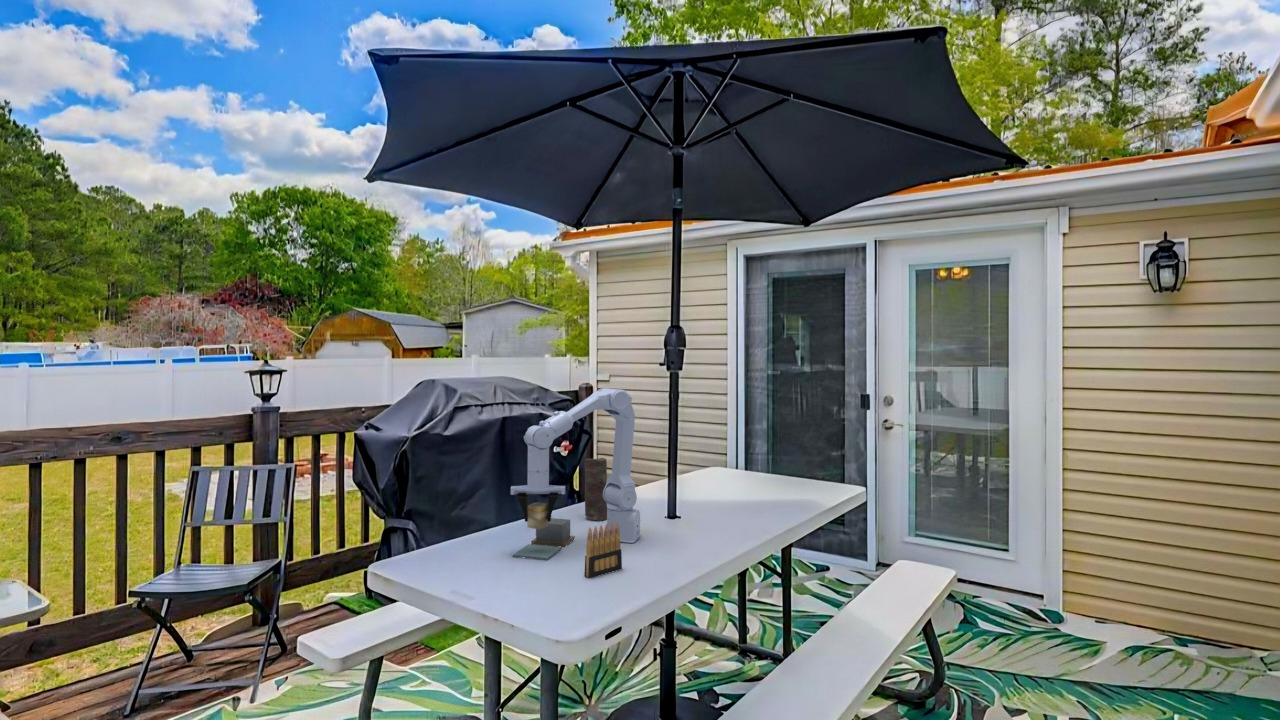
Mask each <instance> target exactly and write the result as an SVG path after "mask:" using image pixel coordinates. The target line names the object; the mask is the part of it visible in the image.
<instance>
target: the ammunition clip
mask: <svg viewBox="0 0 1280 720" xmlns="http://www.w3.org/2000/svg"><path fill="white" fill-rule="evenodd" d="M622 556H623V555H622V549H621V542H620V529H619V524H618V522H617V523H616V526H615V536H614V526H613V523H611V525H610V532H609V530H608V525H607V523H606V524H605V526H604V528H603V525H601V524H600V526H599V529H598V528H597V526H594V529H593V531H592V528H591V527H589V528H588V531H587V542H586V554H585V558H584V574H583V576H584V577H585V578H587V577H588V579H593V578H596V577H600V576H603V575H606V574H605V573H607V574H610V573H613V572H612V571H614V572H616V570H617V571H621V570H622V569H623V562H622V561H623V560H622V559H623V557H622ZM620 569H621V570H620ZM609 572H610V573H609ZM602 574H603V575H602ZM599 575H600V576H599Z"/></svg>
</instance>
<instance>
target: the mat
mask: <svg viewBox="0 0 1280 720" xmlns="http://www.w3.org/2000/svg"><path fill="white" fill-rule="evenodd" d="M561 549H562V550H563V547H554V546H543V545H532V544H530V543H529V544H527V545H525V546H523V547H522V548H521V549H519V550H518V551H516V552H515V553H513V554H512V558H518V557H525V558H524V559H529V558H533V559H532V560H539V559H544V560H543V561H549V560H550V559H551V558H553V557H554V556H555V555H556V553H557V552H558V551H559V552H561V551H562V550H561ZM560 550H561V551H560ZM559 552H558V553H559ZM558 553H557V554H558ZM552 556H553V557H552ZM548 559H549V560H548Z"/></svg>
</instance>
